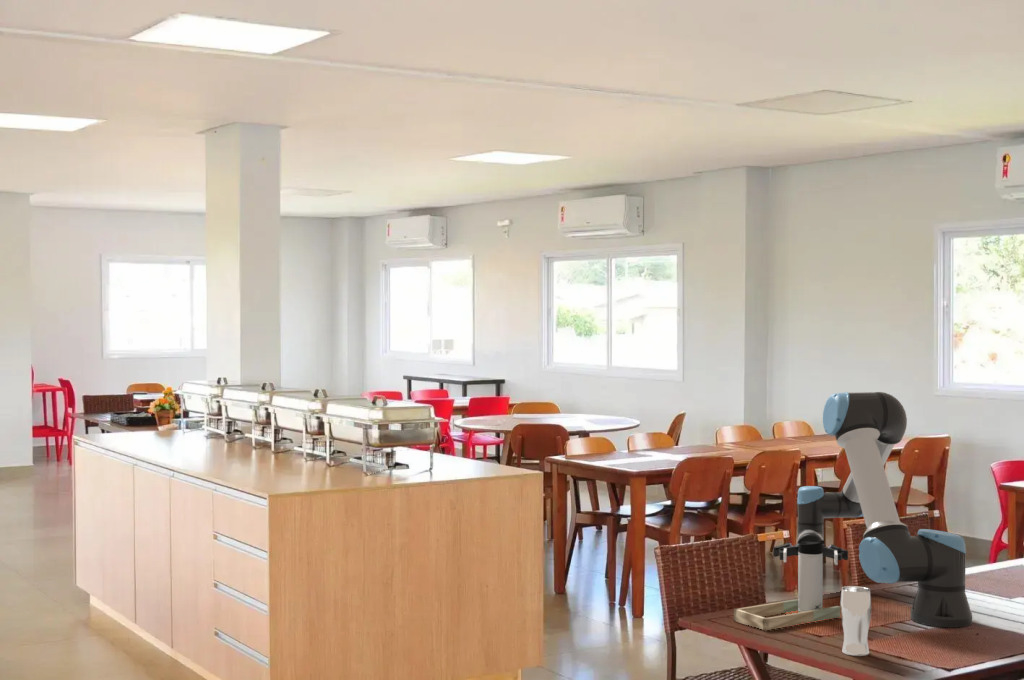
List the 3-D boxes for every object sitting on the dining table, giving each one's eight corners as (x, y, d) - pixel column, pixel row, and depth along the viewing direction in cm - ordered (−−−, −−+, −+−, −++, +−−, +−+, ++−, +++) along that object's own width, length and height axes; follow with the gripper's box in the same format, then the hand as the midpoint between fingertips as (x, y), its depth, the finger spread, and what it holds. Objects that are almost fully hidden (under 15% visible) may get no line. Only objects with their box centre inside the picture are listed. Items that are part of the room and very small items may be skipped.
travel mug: (824, 618, 304) (824, 542, 303) (798, 617, 305) (798, 541, 305) (823, 613, 310) (823, 538, 309) (798, 611, 311) (798, 537, 311)
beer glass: (835, 648, 276) (836, 585, 276) (864, 648, 276) (864, 585, 276) (846, 657, 269) (846, 592, 269) (875, 656, 270) (876, 592, 269)
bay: (840, 618, 305) (840, 606, 305) (765, 631, 292) (765, 619, 292) (806, 608, 315) (806, 597, 315) (733, 620, 302) (733, 609, 302)
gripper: (855, 559, 334) (857, 574, 314) (766, 555, 341) (763, 570, 320) (855, 533, 334) (857, 546, 314) (766, 530, 341) (763, 542, 320)
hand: (810, 558), depth 317 cm, fingers open, 13 cm apart
